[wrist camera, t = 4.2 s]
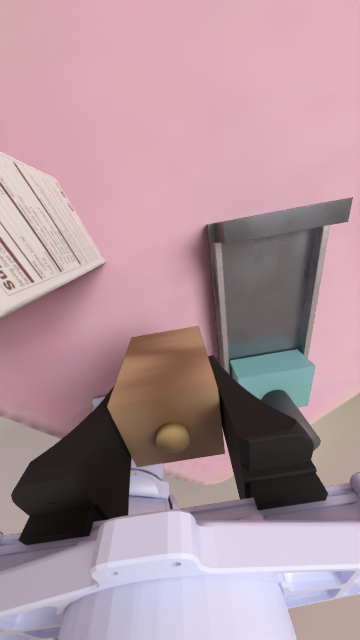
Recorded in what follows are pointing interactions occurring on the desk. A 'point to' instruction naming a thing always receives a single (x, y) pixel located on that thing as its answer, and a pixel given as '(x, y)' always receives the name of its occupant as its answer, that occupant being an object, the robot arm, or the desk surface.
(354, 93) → the desk surface
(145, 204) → the desk surface
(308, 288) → the tray
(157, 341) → the wooden block with knob
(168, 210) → the desk surface
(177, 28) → the desk surface
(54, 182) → the supplement box
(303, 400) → the ram
